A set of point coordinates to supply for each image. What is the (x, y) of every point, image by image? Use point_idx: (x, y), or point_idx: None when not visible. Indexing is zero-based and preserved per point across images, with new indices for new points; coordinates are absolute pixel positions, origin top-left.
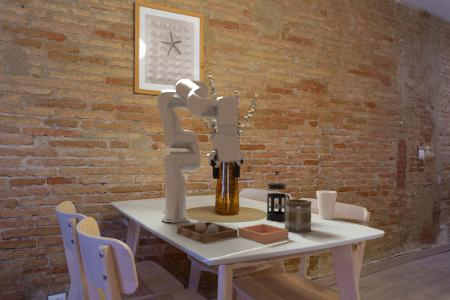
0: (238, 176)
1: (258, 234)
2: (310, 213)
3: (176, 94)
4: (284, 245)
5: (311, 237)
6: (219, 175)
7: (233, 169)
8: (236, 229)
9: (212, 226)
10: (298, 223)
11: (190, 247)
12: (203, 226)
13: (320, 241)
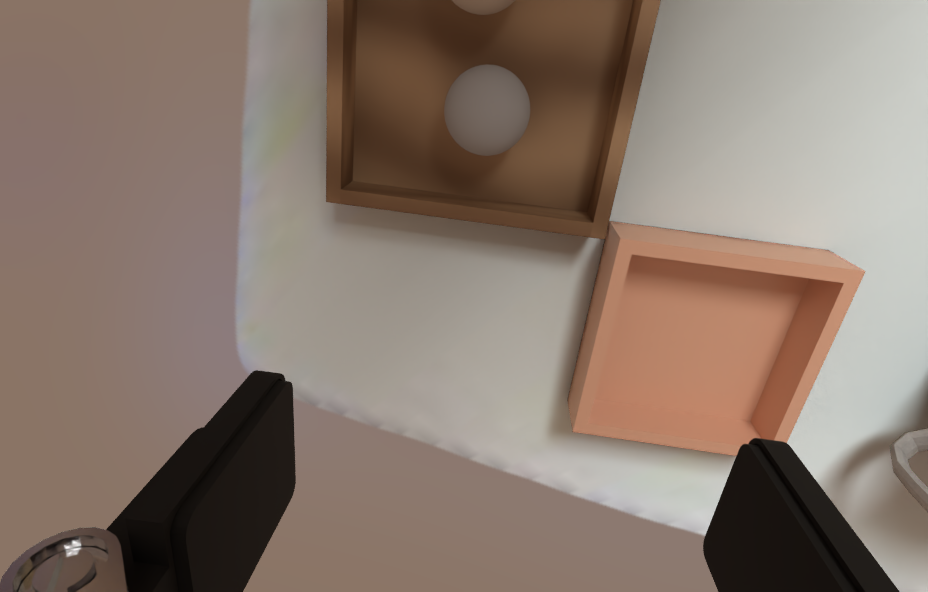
0: (712, 562)
1: (580, 395)
2: None
3: None
4: (631, 461)
5: (867, 484)
6: (273, 527)
7: (819, 576)
8: (605, 228)
9: (463, 134)
10: (904, 485)
11: (258, 175)
12: (476, 10)
13: None
